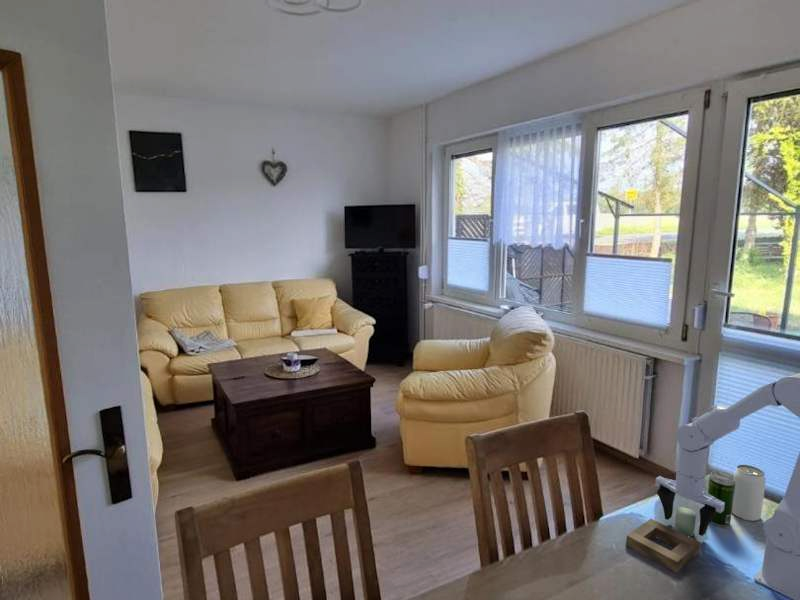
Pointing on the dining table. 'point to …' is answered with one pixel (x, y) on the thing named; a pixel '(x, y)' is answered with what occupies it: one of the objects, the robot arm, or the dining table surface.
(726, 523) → the beer can
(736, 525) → the dining table surface
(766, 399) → the robot arm
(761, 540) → the dining table surface
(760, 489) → the can
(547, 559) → the dining table surface
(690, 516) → the peg
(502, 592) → the dining table surface
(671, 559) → the socket
